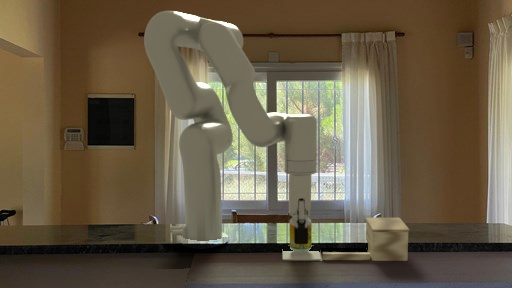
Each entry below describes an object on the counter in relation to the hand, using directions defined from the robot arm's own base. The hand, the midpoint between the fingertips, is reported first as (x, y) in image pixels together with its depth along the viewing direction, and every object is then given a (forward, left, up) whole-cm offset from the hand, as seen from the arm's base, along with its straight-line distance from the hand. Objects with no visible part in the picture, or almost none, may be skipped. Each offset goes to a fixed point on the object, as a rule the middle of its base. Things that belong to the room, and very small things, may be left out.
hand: (300, 238), depth 118 cm
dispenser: (+14, 0, -4) cm, 15 cm away
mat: (0, 0, -4) cm, 4 cm away
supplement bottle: (0, 0, -3) cm, 3 cm away
